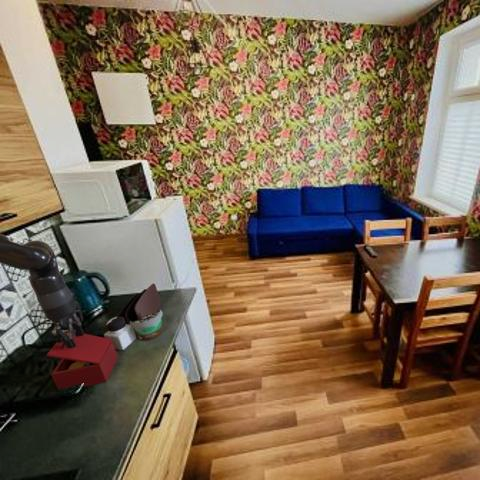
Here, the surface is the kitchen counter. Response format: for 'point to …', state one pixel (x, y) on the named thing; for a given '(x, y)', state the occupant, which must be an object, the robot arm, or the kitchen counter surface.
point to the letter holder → (141, 305)
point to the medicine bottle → (120, 333)
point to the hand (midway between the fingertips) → (76, 341)
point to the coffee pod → (77, 365)
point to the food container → (148, 326)
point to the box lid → (82, 349)
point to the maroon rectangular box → (85, 371)
